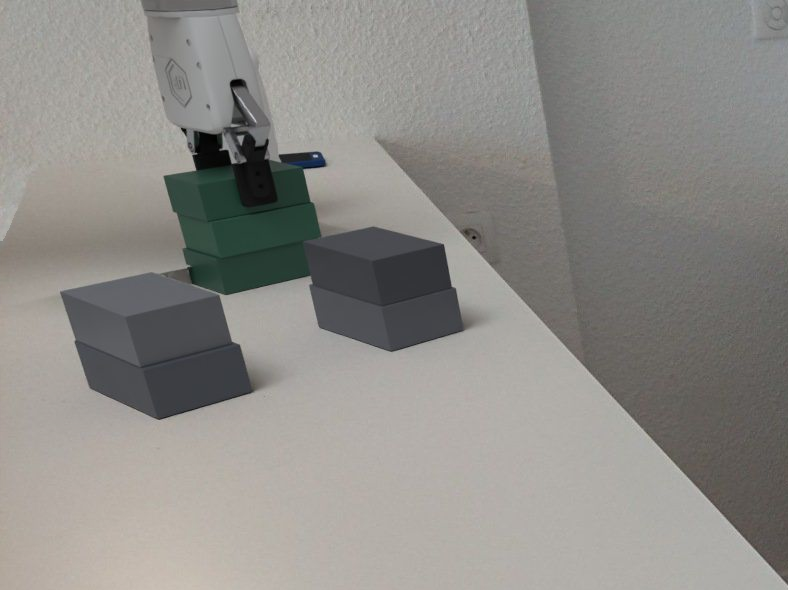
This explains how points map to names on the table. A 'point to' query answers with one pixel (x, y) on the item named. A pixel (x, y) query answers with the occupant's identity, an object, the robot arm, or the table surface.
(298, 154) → the cell phone
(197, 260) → the green stack
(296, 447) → the table surface
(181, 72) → the robot arm
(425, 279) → the grey blocks
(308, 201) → the green block
